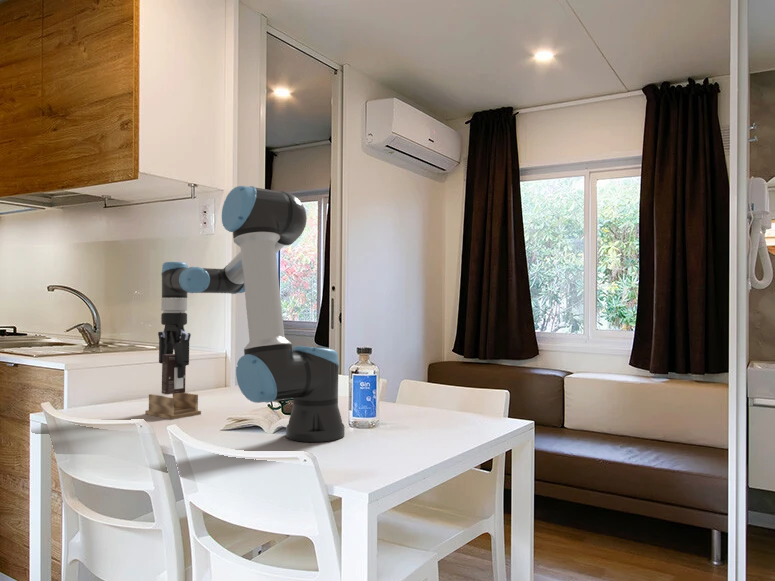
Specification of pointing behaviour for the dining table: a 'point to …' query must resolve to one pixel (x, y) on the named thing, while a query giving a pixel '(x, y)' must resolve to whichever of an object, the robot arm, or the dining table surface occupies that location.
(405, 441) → the dining table surface
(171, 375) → the box
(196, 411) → the holder
